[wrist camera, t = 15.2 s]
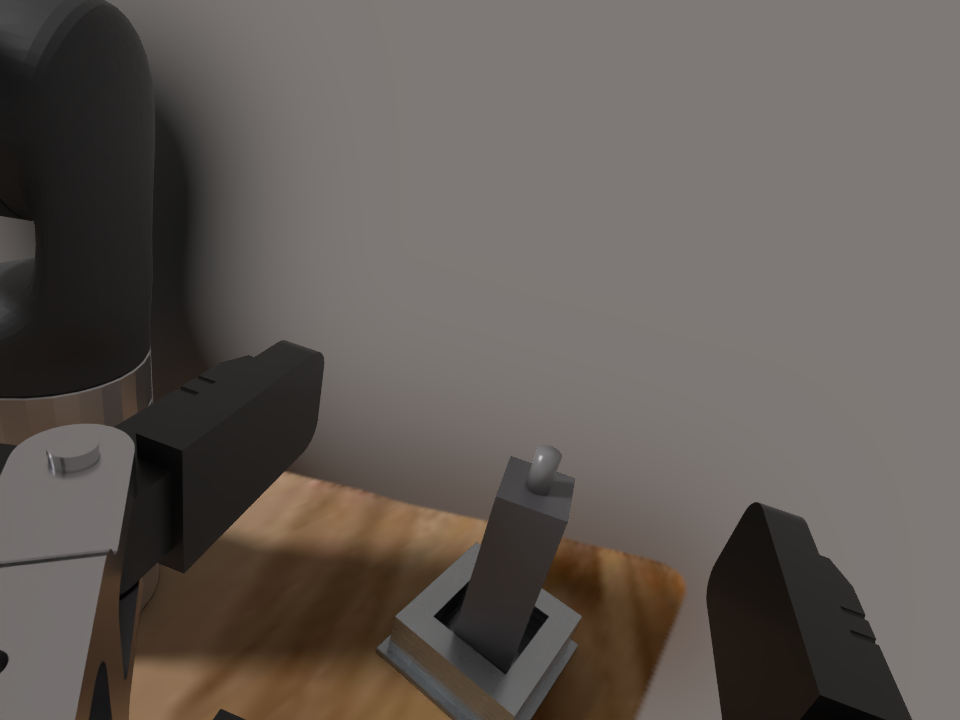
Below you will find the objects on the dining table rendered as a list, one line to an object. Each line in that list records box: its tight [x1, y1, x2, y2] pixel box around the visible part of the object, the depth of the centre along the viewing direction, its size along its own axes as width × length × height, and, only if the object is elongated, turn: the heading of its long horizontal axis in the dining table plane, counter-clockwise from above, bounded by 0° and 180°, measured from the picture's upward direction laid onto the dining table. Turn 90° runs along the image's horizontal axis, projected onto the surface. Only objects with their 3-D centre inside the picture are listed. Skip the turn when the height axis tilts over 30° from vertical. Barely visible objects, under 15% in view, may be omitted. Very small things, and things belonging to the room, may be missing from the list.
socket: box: [376, 542, 582, 720], centre depth 38 cm, size 10×10×3 cm
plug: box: [454, 445, 575, 675], centre depth 35 cm, size 4×4×16 cm
